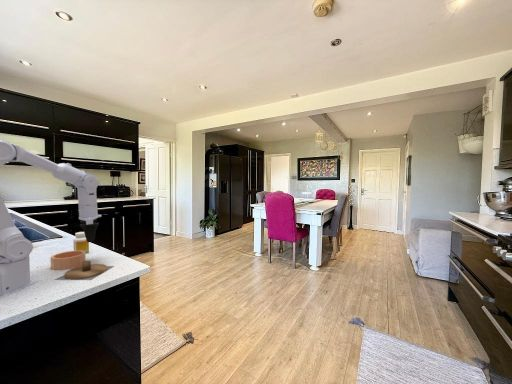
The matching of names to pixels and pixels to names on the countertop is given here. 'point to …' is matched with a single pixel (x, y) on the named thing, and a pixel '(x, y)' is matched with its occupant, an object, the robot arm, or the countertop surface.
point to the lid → (85, 271)
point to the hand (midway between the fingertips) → (90, 239)
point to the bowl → (67, 260)
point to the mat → (85, 278)
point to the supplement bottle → (81, 242)
